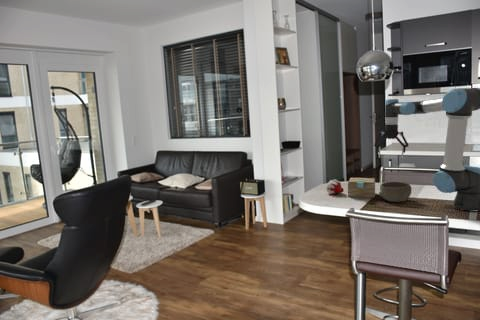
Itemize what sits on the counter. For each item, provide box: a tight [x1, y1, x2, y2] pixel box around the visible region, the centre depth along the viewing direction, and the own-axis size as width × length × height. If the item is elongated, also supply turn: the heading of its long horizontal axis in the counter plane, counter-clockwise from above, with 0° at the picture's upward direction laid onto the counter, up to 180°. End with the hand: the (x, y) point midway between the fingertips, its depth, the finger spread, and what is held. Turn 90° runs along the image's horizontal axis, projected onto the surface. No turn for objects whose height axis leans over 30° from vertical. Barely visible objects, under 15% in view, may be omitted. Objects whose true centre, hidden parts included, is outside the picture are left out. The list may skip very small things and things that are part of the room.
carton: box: [347, 179, 376, 199], centre depth 254 cm, size 14×16×9 cm
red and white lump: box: [326, 178, 344, 195], centre depth 259 cm, size 9×11×15 cm
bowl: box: [378, 181, 413, 203], centre depth 236 cm, size 17×18×10 cm
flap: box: [348, 177, 376, 189], centre depth 249 cm, size 22×15×4 cm
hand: (390, 157), depth 249 cm, fingers open, 13 cm apart
